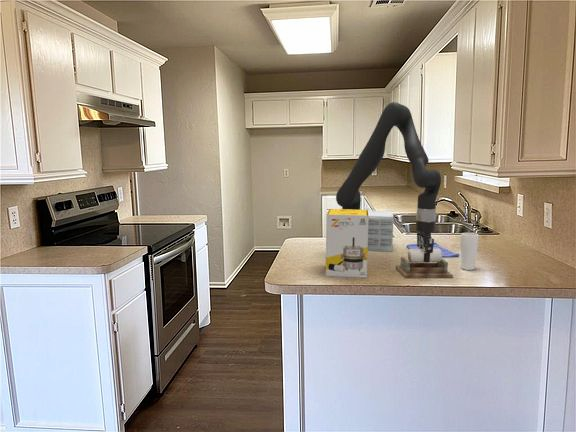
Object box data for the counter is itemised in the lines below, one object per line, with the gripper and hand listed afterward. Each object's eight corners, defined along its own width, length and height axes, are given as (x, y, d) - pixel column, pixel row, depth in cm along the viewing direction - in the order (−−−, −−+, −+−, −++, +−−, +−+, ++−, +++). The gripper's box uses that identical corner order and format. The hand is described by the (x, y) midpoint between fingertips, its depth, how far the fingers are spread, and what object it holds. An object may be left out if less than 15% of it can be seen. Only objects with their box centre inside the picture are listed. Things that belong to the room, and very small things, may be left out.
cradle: (404, 278, 164) (405, 264, 164) (395, 268, 178) (396, 255, 177) (452, 278, 165) (453, 264, 164) (439, 268, 178) (440, 255, 178)
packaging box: (325, 276, 168) (326, 214, 164) (328, 265, 184) (329, 209, 180) (366, 278, 165) (368, 215, 161) (366, 266, 181) (367, 209, 177)
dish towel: (436, 247, 220) (436, 242, 220) (460, 258, 197) (461, 252, 196) (405, 248, 218) (405, 243, 217) (426, 259, 194) (426, 253, 194)
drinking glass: (475, 271, 173) (477, 236, 171) (457, 269, 176) (460, 234, 174) (477, 268, 179) (480, 233, 176) (460, 265, 182) (462, 232, 180)
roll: (411, 263, 168) (411, 250, 167) (407, 260, 173) (407, 247, 173) (442, 263, 168) (442, 249, 167) (437, 260, 173) (437, 247, 173)
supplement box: (366, 243, 227) (367, 210, 224) (391, 244, 224) (392, 211, 221) (365, 251, 210) (366, 215, 207) (392, 252, 207) (394, 216, 204)
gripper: (411, 216, 175) (409, 256, 178) (422, 222, 161) (420, 265, 164) (429, 216, 175) (427, 255, 178) (441, 222, 161) (439, 264, 164)
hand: (424, 260), depth 171 cm, fingers closed on roll, 5 cm apart
